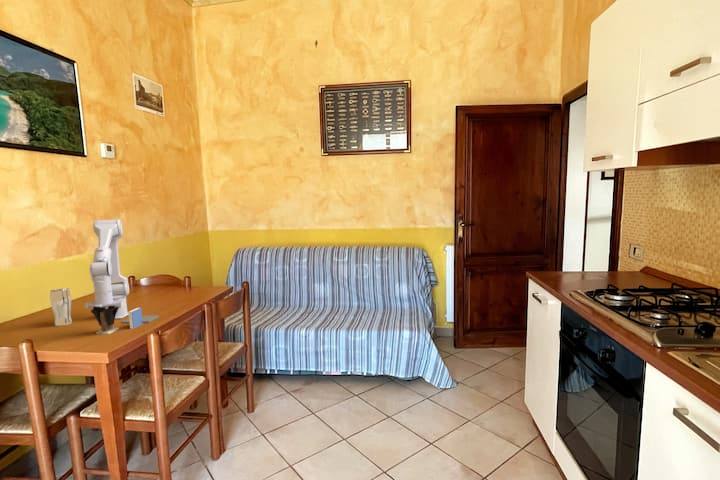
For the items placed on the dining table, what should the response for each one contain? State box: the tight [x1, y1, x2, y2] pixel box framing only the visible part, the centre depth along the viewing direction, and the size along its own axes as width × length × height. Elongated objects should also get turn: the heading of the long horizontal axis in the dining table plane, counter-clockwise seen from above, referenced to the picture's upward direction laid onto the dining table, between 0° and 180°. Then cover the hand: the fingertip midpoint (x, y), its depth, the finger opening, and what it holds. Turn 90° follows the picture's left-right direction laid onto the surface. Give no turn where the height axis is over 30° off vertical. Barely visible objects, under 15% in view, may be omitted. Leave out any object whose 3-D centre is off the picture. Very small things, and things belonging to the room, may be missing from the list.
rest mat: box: [120, 315, 160, 324], centre depth 165 cm, size 12×8×1 cm, turn 89°
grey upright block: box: [95, 311, 119, 335], centre depth 151 cm, size 5×6×9 cm
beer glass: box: [49, 287, 73, 327], centre depth 162 cm, size 7×7×15 cm
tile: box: [128, 307, 144, 330], centre depth 157 cm, size 2×6×7 cm, turn 179°
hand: (106, 324), depth 151 cm, fingers open, 3 cm apart
